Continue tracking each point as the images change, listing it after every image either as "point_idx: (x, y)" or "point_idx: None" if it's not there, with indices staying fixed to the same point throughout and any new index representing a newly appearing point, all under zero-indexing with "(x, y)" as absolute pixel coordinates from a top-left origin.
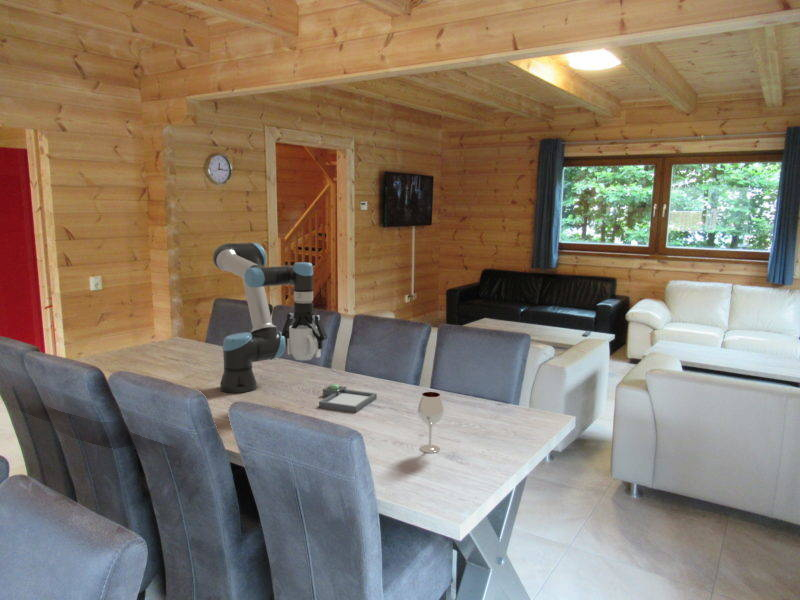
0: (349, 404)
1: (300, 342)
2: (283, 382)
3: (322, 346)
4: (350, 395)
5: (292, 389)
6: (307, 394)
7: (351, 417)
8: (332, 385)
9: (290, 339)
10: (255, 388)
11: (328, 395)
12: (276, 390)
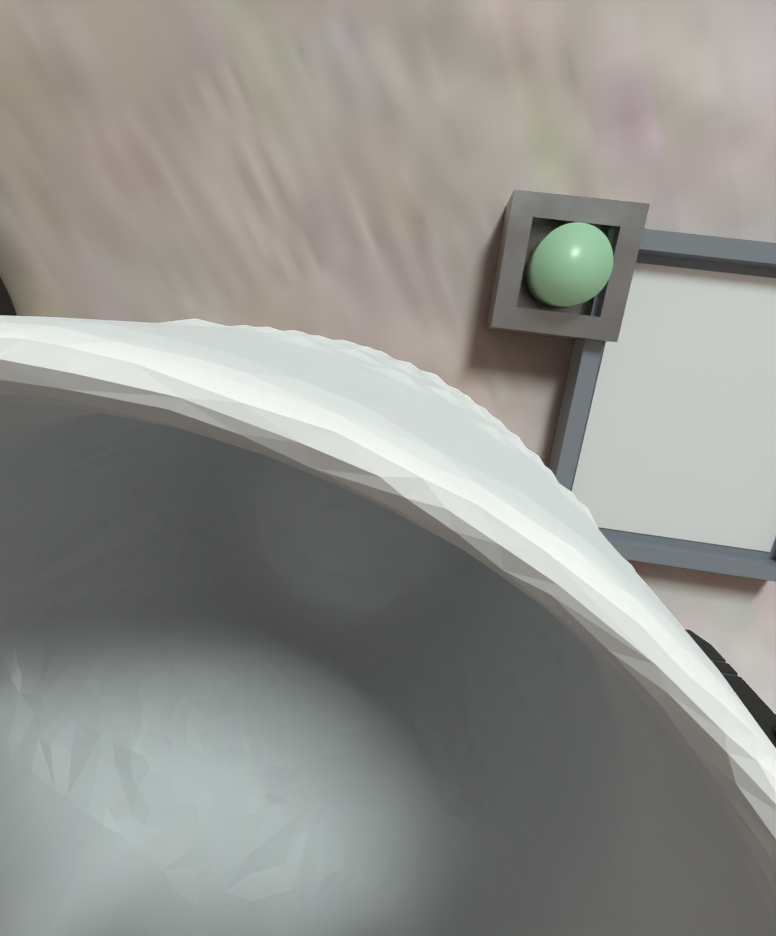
0: (725, 495)
1: (355, 881)
2: (81, 84)
3: (719, 654)
4: (693, 308)
5: (229, 240)
6: (372, 318)
7: (759, 641)
8: (559, 277)
9: (100, 838)
10: (14, 312)
11: (529, 333)
12: (147, 297)
